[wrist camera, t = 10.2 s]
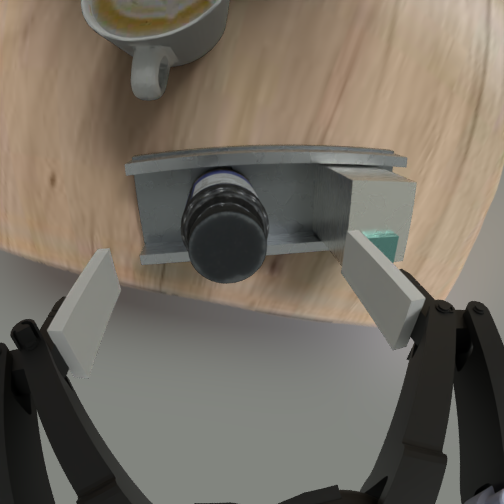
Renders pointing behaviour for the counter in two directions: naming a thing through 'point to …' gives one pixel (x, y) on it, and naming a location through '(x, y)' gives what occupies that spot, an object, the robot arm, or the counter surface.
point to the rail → (283, 196)
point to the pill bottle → (224, 226)
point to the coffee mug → (157, 35)
